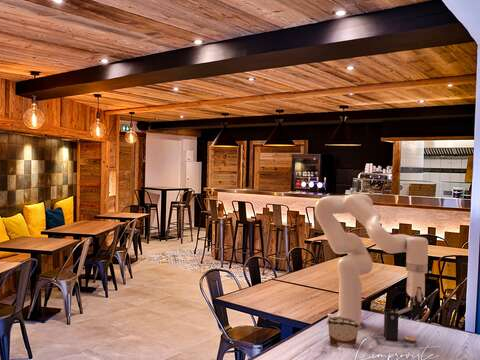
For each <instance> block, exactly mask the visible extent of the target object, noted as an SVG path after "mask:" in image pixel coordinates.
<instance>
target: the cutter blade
mask: <svg viewBox="0 0 480 360" xmlns="http://www.w3.org/2000/svg"><path fill="white" fill-rule="evenodd" d="M412 304H413V303H412ZM412 304H411V306H410V305H409V306H407V307H404V308H403V309H400V310H396V311H397V312H396V313H399V314H398V316H399V315H401V314H404V313H407V312H410V310H412ZM391 312H393V311H391Z"/></svg>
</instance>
